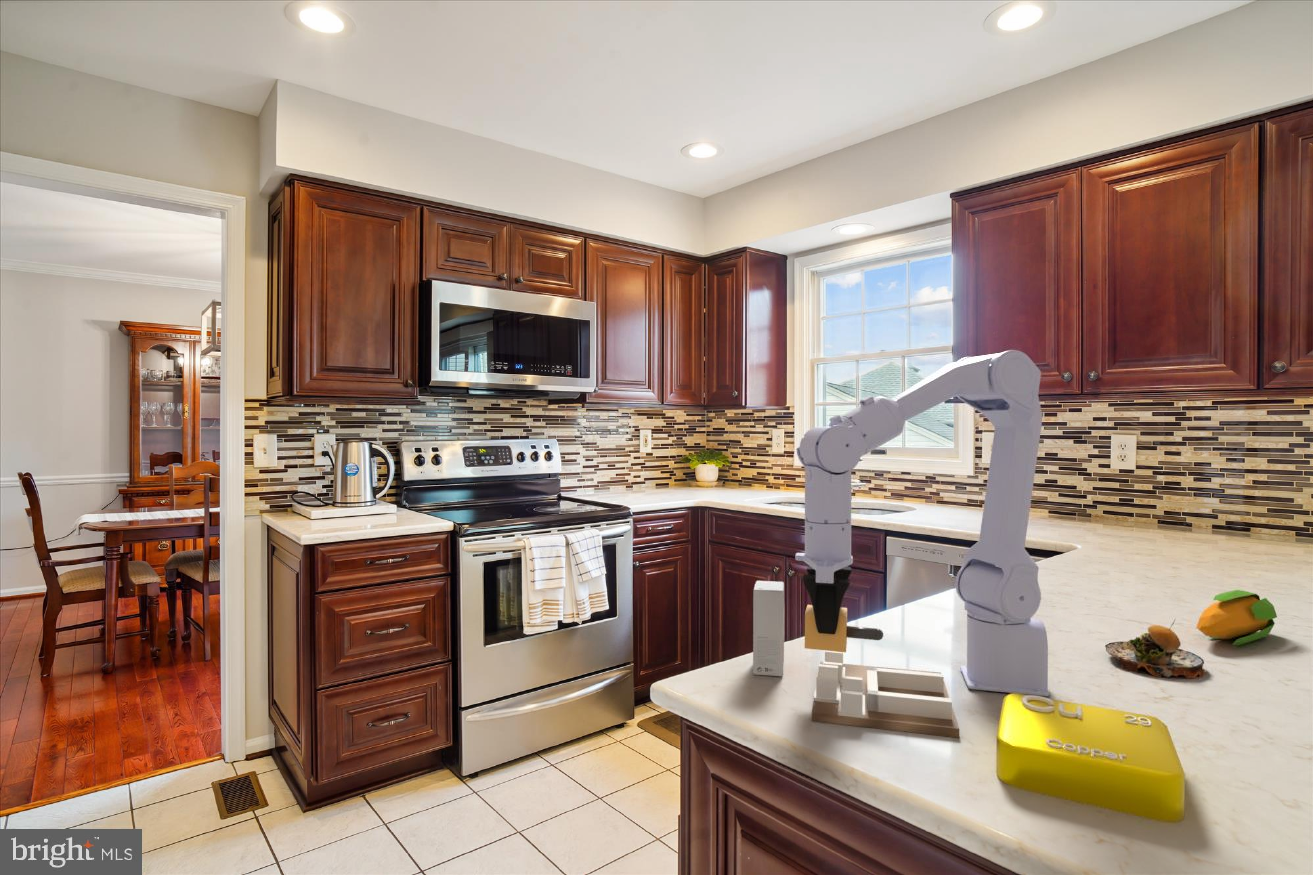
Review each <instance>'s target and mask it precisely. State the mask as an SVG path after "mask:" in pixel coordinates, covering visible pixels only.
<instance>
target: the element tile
mask: <svg viewBox="0 0 1313 875" xmlns="http://www.w3.org/2000/svg"><path fill="white" fill-rule="evenodd" d="M1000 709H1001V710H1000V715H999V720H998V727H997V730H996V731H997V732H996V737H995V738H996V741H995V742H996V749H995V751H996V752H995V754H996V755H995V756H996V758H995V761H996V762H995V763H996V766H995V767H996V768H995V770H996V771H995V772H996V776H997V778H998V779H999V780H1000V781H1001V782H1003V783H1004V784H1006V785H1009V786H1011V787H1013V788H1017V789H1020V790H1024V791H1027V792H1028V791H1029V792H1033V793H1037V794H1042V795H1046V796H1049V797H1055V798H1059V799H1064V800H1068V801H1071V802H1072V801H1073V802H1076V803H1080V804H1081V803H1082V804H1085V805H1090V806H1094V807H1098V808H1102V809H1107V810H1112V811H1116V812H1119V813H1120V812H1121V813H1123V814H1127V815H1128V814H1129V815H1132V816H1133V815H1134V816H1136V817H1142V818H1146V819H1151V820H1154V821H1160V822H1166V823H1177V822H1178V823H1179V822H1182V820H1183V819H1185V805H1186V804H1185V797H1186V796H1185V793H1186V792H1185V791H1186V790H1185V789H1186V788H1185V786H1186V784H1185V783H1186V780H1185V779H1186V778H1185V777H1186V774H1185V771H1184V768H1183V766H1182V764H1181V760H1180V758H1179V755H1178V752H1177V750H1176V747H1175V745H1174V744H1175V743H1174V741H1173V739H1172V736H1171V734H1170V731H1169V728H1168V726H1167V725H1166V724H1165V723H1164V722H1163V721H1162V720H1160V719H1159V718H1158V717H1155V716H1152V715H1147V714H1140V713H1135V712H1129V711H1126V710H1125V711H1123V710H1118V709H1112V708H1106V707H1101V706H1094V705H1089V704H1084V703H1083V704H1082V703H1077V702H1071V701H1065V700H1059V699H1053V698H1049V697H1046V696H1039V695H1028V694H1018V693H1009V694H1008V695H1006V696H1004V697H1003V699H1002V704H1001V708H1000Z"/></svg>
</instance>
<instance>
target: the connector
mask: <svg viewBox="0 0 1313 875" xmlns="http://www.w3.org/2000/svg"><path fill="white" fill-rule="evenodd" d="M883 637H884V632H883V631H882V629H880V628H875V627H860V626H853V625H848V607H840V613H839V619H838V625H837V629H836V633H835V634H823V633H818V631H817V627H816V622H815V617H814V611H813V606H812V604H807V606H806V609H805V612H804V649H808V650H817V651H818V650H819V651H825V650H826V651H836V652H843V653H847V646H848V645H847V644H848V639H859V640H861V639H862V640H869V641H871V640H872V641H881V640H882V639H883Z"/></svg>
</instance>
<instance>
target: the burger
mask: <svg viewBox="0 0 1313 875" xmlns="http://www.w3.org/2000/svg"><path fill="white" fill-rule="evenodd" d="M1175 621H1176V619H1174V620H1173V622H1172V623H1171V626H1170V627H1166V626H1164V625H1158V624H1152V625H1150V626H1148V627H1147V631H1148V632H1144V633H1142V634H1141V635H1140V636H1139V637H1138V636H1136V637H1135V638H1134V639H1129V640H1128V641H1114V642H1109V643H1107V644H1105V645H1104V647H1105V651H1106V652H1107V653H1108V655H1110V656H1112V657H1114V658H1115V659H1117V660H1118V661H1119V662H1120V666H1121V670H1123V669H1125V670H1127V671H1128V672H1133V673H1136V674H1138V673H1139V669H1140V668H1143V669H1146V671H1147V672H1148V673H1150V674H1151V675H1152V676H1154V677H1157V678H1161V677H1162V676H1163V677H1164V678H1167V679H1168V678H1169V677H1171V676H1175V677H1178V676H1184V677H1185V678H1186V679H1187V680H1188V679H1190V678H1191V679H1195V678H1196V677H1198V675H1199V677H1203V676H1204V675H1205V674H1206V671H1205V669H1204V668H1203V666H1204V664H1205V660H1204V659H1203V658H1202V657H1201V656H1199V655H1197V654H1195V653H1193V652H1191V651H1187V650H1184V649H1182V648H1181V649H1180V647H1181V641H1180V638H1179V636H1178V635H1177V634H1176V633H1175V632H1174V631H1173V630H1172V629H1171V628H1172V626H1174V623H1175Z"/></svg>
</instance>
